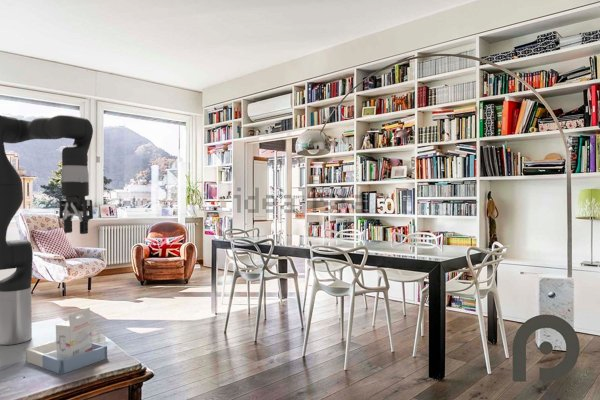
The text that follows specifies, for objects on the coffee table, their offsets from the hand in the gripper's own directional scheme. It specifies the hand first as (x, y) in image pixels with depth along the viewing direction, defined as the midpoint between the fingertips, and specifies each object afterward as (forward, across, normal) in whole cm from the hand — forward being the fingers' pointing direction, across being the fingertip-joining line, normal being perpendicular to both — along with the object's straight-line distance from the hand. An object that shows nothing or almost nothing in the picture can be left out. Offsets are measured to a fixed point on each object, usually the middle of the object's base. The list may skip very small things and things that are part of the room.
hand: (76, 233), depth 134 cm
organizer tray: (+36, +6, -6) cm, 37 cm away
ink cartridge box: (+36, +10, -7) cm, 38 cm away
